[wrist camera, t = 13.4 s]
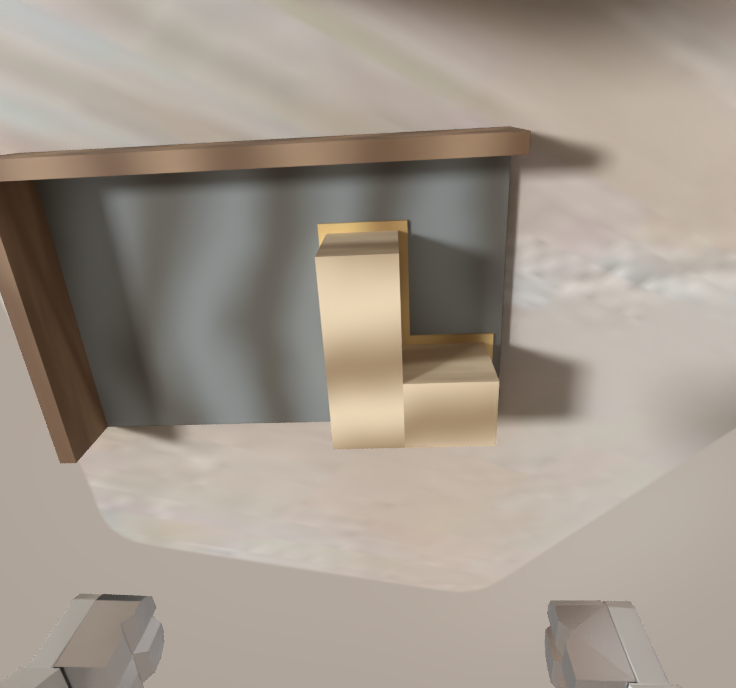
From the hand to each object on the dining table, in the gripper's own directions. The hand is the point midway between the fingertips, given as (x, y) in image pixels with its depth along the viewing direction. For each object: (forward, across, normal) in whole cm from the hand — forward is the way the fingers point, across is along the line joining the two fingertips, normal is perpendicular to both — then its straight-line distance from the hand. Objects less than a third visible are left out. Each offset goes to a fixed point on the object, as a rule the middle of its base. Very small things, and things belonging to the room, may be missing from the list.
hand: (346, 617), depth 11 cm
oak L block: (+22, -1, +3) cm, 22 cm away
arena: (+23, +7, +1) cm, 24 cm away
